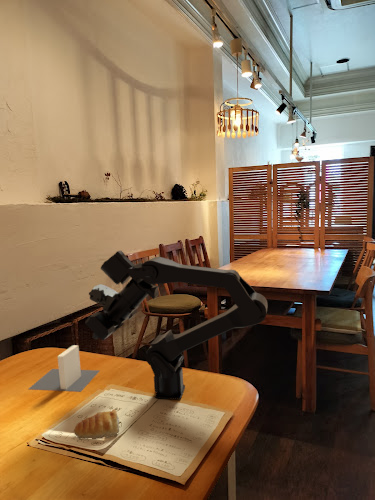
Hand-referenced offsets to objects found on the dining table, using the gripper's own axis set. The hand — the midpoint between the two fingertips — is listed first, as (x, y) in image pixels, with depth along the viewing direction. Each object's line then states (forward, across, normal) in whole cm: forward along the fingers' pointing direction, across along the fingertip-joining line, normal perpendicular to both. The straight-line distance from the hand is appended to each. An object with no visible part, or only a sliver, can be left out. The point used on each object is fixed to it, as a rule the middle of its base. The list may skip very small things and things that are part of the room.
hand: (94, 337), depth 97 cm
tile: (+15, 0, +3) cm, 15 cm away
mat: (+17, -1, +2) cm, 17 cm away
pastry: (+3, +18, +17) cm, 25 cm away
